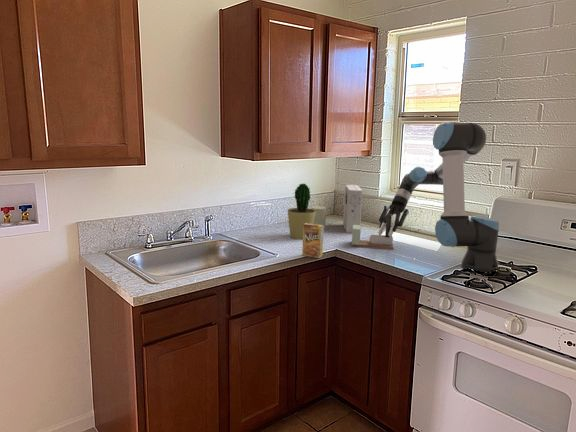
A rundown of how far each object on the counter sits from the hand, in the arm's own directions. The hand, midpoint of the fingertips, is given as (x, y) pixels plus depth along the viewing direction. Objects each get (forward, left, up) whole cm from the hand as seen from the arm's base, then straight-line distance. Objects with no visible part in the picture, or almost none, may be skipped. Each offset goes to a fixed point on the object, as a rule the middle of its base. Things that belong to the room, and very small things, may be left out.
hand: (384, 234), depth 230 cm
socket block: (+3, +14, -6) cm, 16 cm away
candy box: (-24, +34, -7) cm, 42 cm away
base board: (+3, +6, -7) cm, 9 cm away
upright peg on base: (+3, +2, -5) cm, 6 cm away
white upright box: (+38, +17, -7) cm, 42 cm away
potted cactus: (+11, +44, -7) cm, 46 cm away
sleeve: (+3, +1, -6) cm, 7 cm away
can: (+40, +37, -7) cm, 55 cm away
